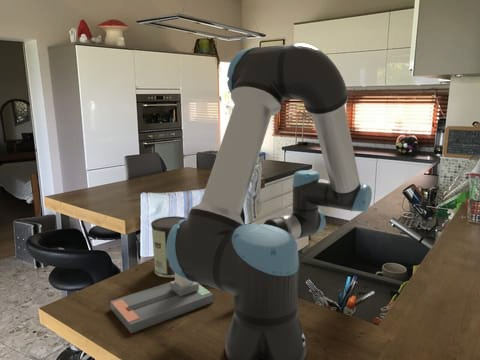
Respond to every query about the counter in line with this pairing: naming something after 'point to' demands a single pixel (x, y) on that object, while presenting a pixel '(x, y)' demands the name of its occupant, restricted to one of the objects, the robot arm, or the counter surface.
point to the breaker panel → (157, 306)
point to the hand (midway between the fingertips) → (218, 247)
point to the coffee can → (162, 244)
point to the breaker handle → (183, 285)
